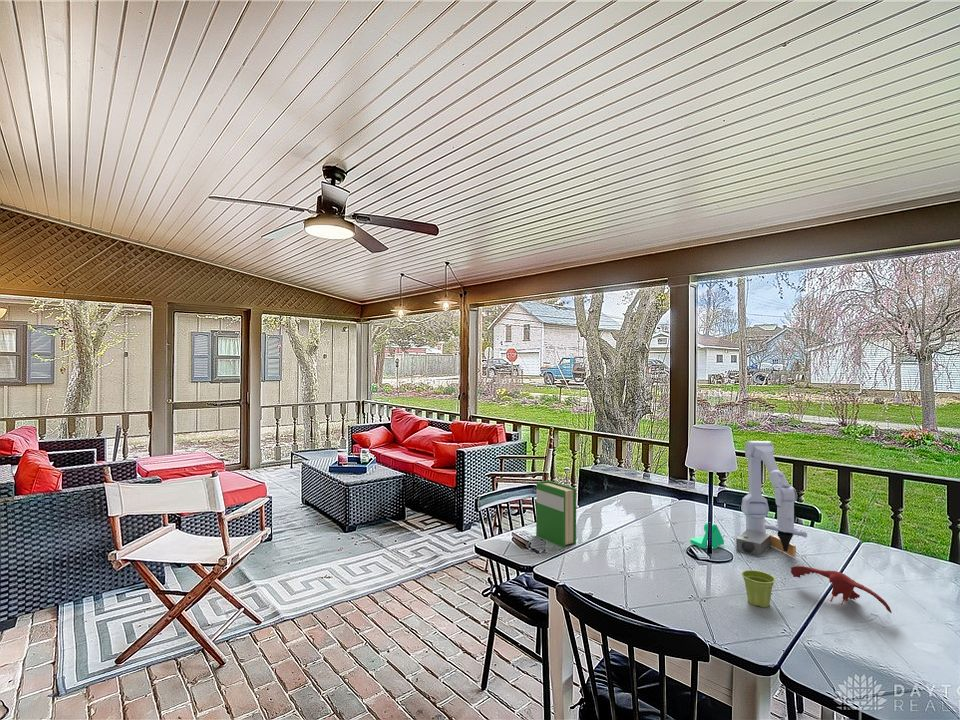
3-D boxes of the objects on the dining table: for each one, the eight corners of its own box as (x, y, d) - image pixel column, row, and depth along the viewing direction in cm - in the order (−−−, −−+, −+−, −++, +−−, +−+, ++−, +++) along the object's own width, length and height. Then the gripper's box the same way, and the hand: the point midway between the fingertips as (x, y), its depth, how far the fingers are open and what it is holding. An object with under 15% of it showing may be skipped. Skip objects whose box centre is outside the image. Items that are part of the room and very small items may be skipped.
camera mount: (708, 540, 211) (708, 517, 211) (724, 546, 204) (723, 522, 204) (689, 545, 206) (689, 521, 206) (704, 551, 199) (704, 526, 199)
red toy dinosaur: (797, 596, 168) (780, 570, 163) (808, 575, 171) (791, 549, 166) (896, 637, 143) (879, 608, 138) (907, 611, 146) (890, 581, 141)
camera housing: (747, 540, 211) (747, 527, 211) (771, 546, 204) (771, 532, 205) (735, 550, 199) (735, 537, 199) (759, 557, 192) (759, 543, 192)
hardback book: (576, 544, 205) (576, 488, 206) (563, 547, 201) (563, 490, 202) (548, 532, 220) (548, 480, 220) (536, 535, 216) (536, 482, 216)
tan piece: (770, 545, 204) (769, 534, 204) (773, 545, 204) (773, 534, 204) (792, 557, 191) (792, 545, 191) (796, 556, 191) (796, 545, 192)
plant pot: (759, 612, 149) (759, 584, 149) (735, 598, 158) (735, 571, 158) (782, 608, 151) (782, 580, 151) (757, 594, 160) (757, 568, 160)
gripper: (762, 515, 195) (762, 548, 195) (804, 523, 185) (804, 558, 185) (767, 511, 200) (767, 544, 200) (808, 519, 190) (808, 553, 190)
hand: (785, 550), depth 193 cm, fingers closed
